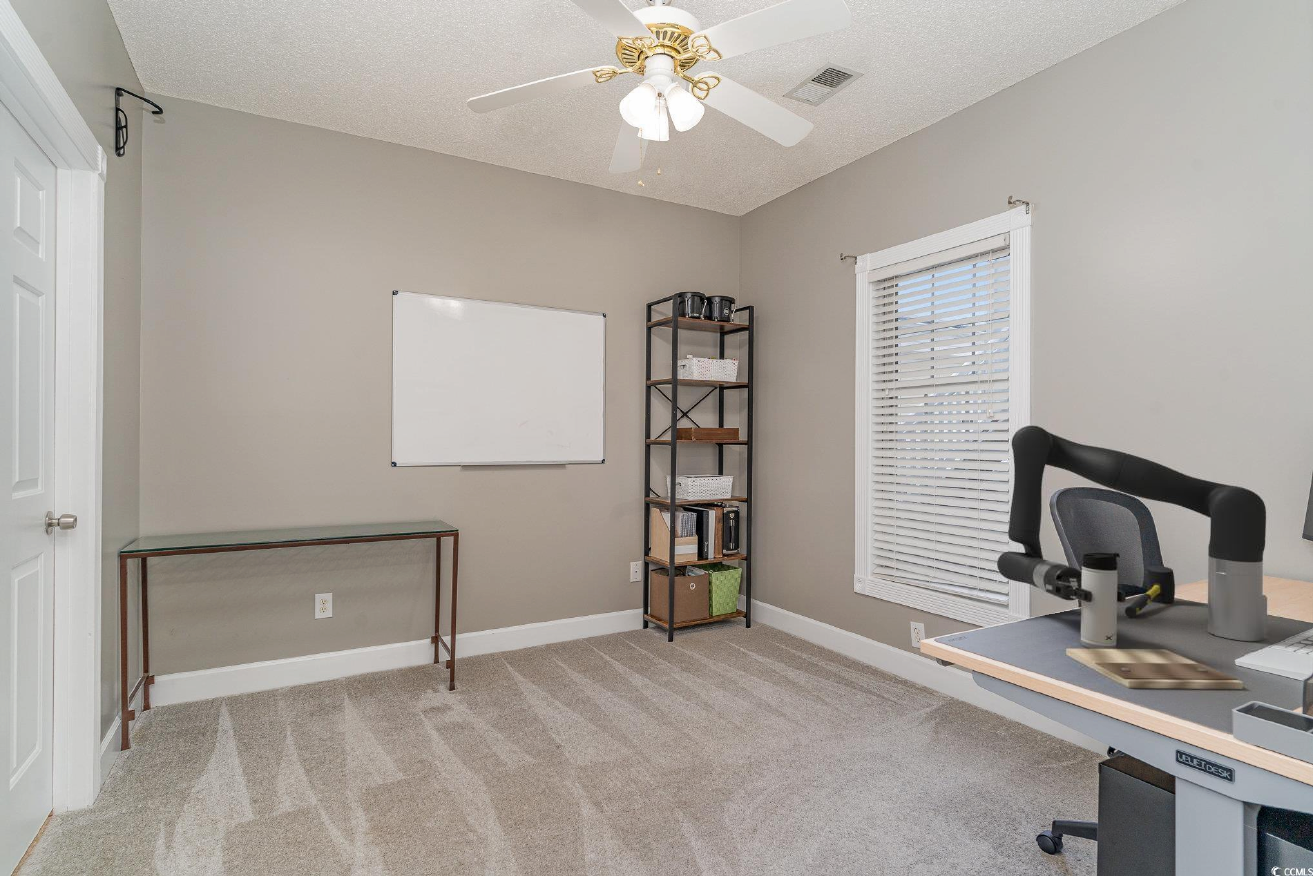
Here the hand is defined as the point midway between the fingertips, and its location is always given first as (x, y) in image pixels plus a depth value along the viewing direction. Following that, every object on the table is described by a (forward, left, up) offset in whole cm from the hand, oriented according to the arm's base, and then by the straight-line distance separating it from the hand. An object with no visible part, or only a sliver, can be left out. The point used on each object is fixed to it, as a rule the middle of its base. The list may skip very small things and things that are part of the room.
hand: (1106, 597), depth 138 cm
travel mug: (0, -2, -11) cm, 11 cm away
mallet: (-34, -35, -12) cm, 50 cm away
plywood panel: (0, +12, -11) cm, 16 cm away
